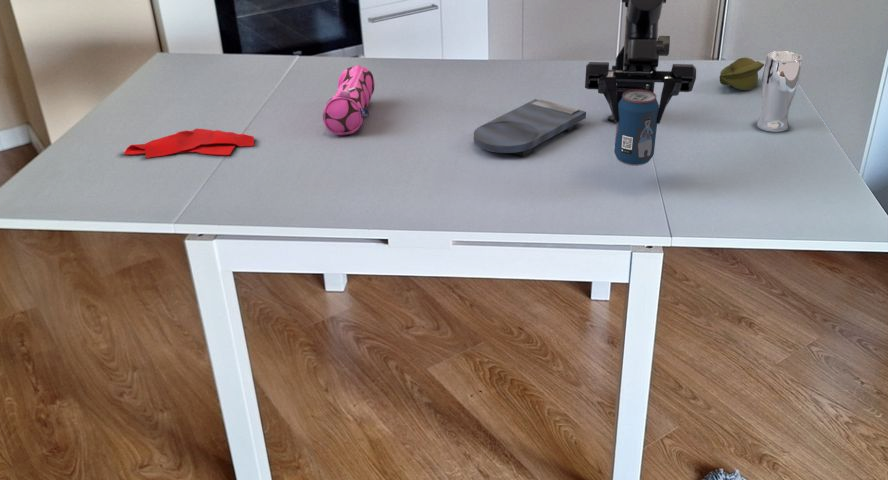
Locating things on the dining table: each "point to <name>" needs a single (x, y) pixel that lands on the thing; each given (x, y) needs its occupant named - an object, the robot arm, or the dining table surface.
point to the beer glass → (778, 89)
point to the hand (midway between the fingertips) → (637, 122)
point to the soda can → (636, 127)
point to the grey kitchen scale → (526, 127)
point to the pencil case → (349, 101)
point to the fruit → (741, 74)
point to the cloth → (193, 143)
